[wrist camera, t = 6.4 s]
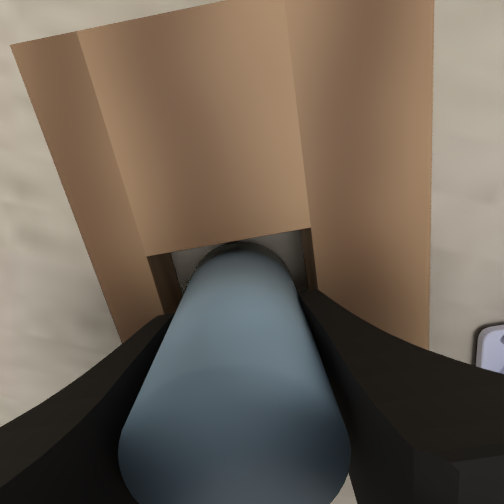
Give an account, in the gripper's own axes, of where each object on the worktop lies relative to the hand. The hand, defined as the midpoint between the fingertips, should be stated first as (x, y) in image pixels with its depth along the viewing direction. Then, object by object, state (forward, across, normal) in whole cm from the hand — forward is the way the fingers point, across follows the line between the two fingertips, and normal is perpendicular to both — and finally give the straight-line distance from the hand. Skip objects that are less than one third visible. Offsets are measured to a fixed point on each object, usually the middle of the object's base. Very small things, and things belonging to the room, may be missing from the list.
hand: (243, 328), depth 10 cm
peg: (+2, 0, 0) cm, 2 cm away
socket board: (+3, -1, -1) cm, 4 cm away
